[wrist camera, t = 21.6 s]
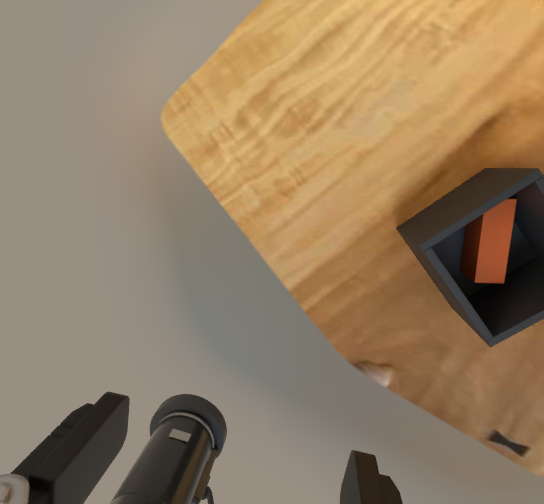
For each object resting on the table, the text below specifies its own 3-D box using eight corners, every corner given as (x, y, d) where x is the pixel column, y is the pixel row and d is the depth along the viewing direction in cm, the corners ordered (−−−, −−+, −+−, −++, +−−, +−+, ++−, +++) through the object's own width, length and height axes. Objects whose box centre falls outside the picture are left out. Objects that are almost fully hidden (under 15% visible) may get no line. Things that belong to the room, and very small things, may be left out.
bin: (543, 256, 41) (611, 282, 31) (452, 308, 44) (490, 347, 34) (485, 168, 39) (539, 168, 30) (395, 228, 42) (419, 245, 33)
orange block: (504, 283, 37) (517, 198, 35) (474, 282, 38) (485, 198, 36) (486, 272, 41) (497, 195, 39) (459, 272, 42) (468, 195, 40)
